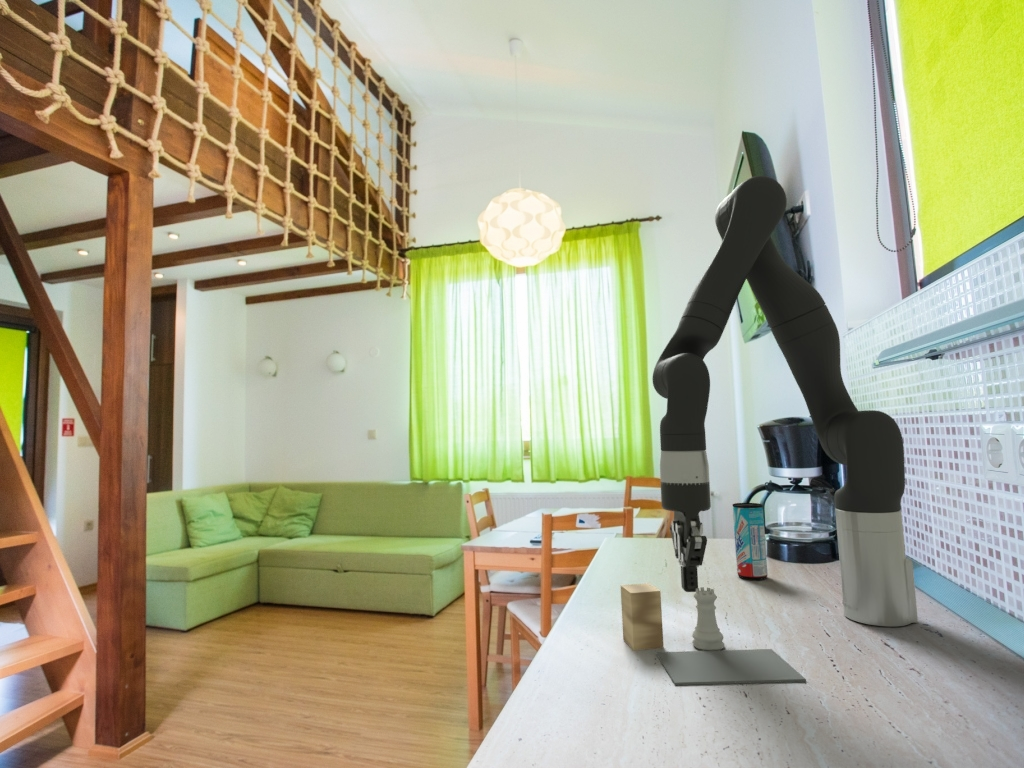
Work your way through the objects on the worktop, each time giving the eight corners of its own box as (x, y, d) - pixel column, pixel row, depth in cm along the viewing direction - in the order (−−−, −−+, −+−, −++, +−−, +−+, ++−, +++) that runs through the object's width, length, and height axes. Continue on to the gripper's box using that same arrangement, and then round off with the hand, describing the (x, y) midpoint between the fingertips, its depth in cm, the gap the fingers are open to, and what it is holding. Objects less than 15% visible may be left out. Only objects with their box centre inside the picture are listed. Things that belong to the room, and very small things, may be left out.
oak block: (651, 637, 88) (648, 583, 89) (663, 647, 84) (660, 590, 85) (623, 639, 88) (620, 585, 88) (633, 650, 83) (630, 593, 84)
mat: (771, 651, 81) (771, 648, 81) (806, 681, 71) (805, 679, 71) (656, 654, 81) (656, 652, 81) (674, 685, 71) (674, 682, 71)
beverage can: (741, 572, 125) (736, 502, 127) (770, 575, 122) (765, 503, 123) (733, 578, 120) (729, 505, 122) (764, 582, 117) (758, 506, 118)
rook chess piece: (727, 652, 81) (723, 594, 82) (693, 651, 82) (690, 593, 83) (722, 641, 85) (718, 585, 86) (690, 640, 86) (687, 585, 87)
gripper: (722, 482, 86) (728, 602, 85) (696, 475, 99) (701, 579, 98) (671, 483, 86) (676, 603, 85) (652, 476, 99) (656, 580, 98)
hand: (689, 590), depth 91 cm, fingers closed
